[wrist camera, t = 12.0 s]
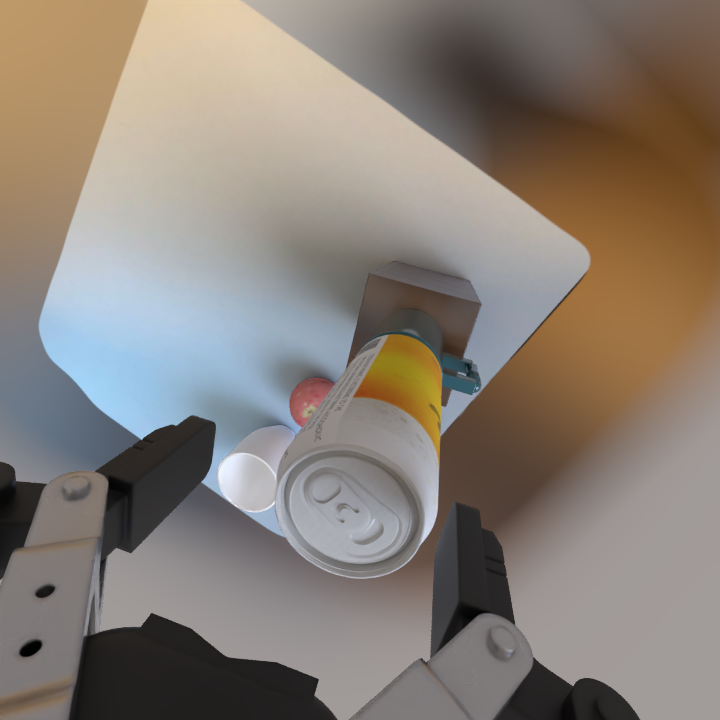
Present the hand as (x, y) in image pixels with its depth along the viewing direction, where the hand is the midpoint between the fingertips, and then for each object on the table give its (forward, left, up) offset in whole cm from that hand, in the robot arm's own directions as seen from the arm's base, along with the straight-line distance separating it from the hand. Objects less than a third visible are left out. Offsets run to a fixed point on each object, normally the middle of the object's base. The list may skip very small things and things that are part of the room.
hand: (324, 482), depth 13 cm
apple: (+18, -9, -43) cm, 47 cm away
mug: (+29, -15, -43) cm, 54 cm away
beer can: (+1, +1, -16) cm, 16 cm away
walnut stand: (+2, +1, -43) cm, 43 cm away
